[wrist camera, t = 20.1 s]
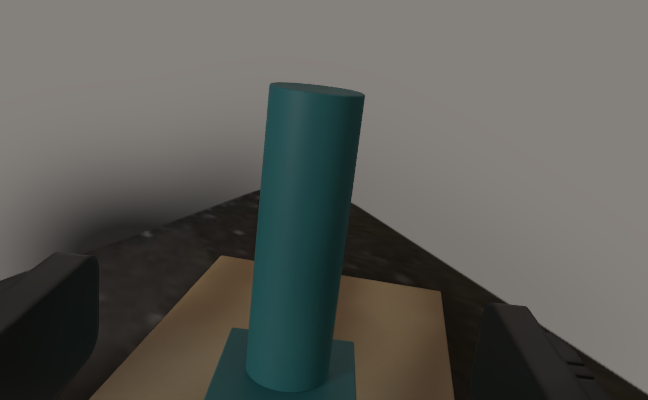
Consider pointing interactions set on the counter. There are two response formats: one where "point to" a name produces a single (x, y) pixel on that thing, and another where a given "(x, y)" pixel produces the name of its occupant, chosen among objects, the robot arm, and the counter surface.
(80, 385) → the counter surface
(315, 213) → the dish brush
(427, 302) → the birch board
